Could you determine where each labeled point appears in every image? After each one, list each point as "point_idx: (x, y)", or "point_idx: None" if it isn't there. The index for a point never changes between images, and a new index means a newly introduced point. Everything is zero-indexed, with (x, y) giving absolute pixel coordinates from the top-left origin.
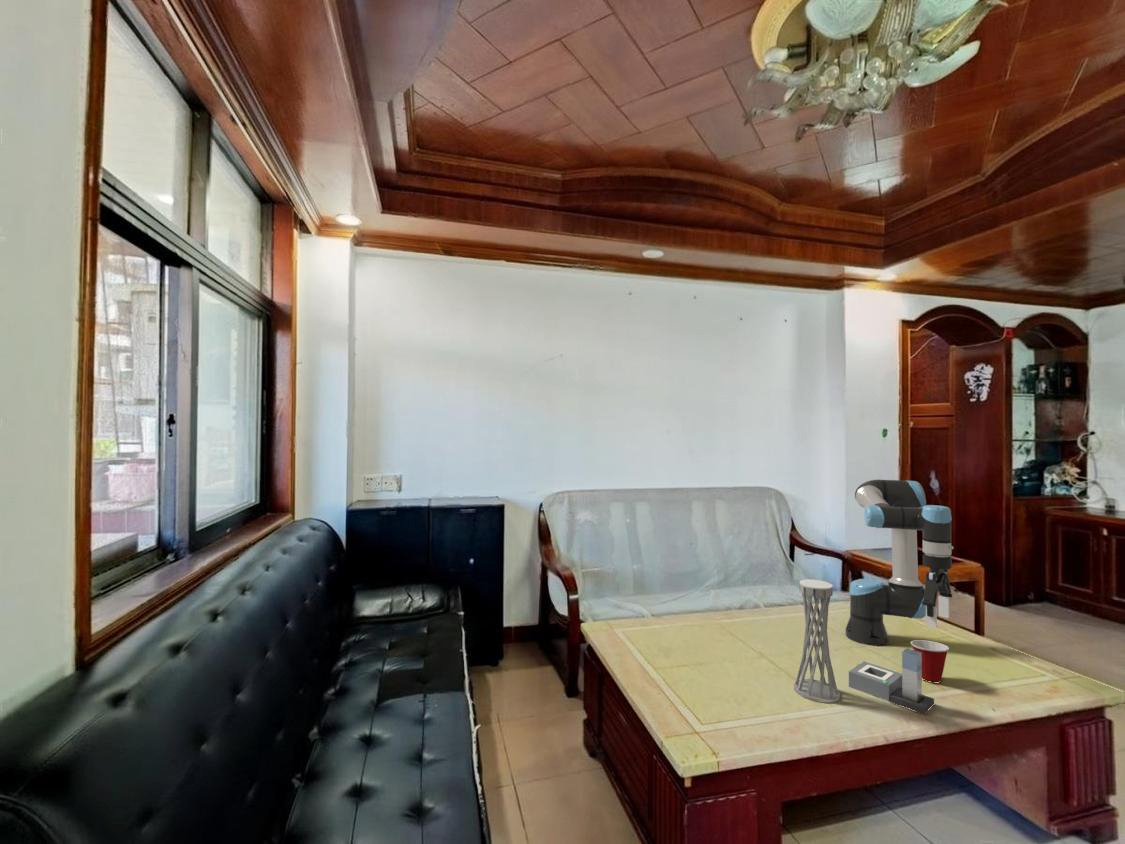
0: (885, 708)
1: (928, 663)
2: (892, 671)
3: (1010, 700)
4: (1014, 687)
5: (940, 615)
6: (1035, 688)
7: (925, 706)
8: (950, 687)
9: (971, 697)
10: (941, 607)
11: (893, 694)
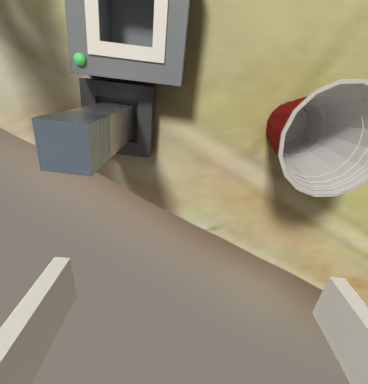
0: (48, 76)
1: (274, 136)
2: (177, 55)
3: (273, 244)
4: (340, 245)
5: (328, 289)
6: (355, 267)
7: None
8: (268, 164)
9: (242, 199)
10: (365, 349)
11: (94, 82)
